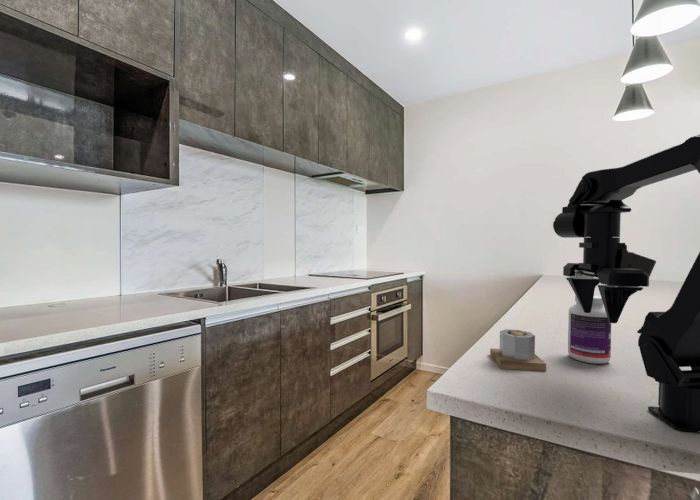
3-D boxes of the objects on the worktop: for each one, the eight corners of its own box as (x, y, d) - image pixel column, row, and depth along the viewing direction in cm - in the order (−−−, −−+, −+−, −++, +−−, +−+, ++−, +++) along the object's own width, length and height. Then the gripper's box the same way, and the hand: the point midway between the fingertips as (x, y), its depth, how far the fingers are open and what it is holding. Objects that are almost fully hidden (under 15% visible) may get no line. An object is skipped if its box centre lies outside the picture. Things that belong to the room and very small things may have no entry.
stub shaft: (546, 371, 73) (546, 339, 72) (500, 368, 74) (500, 337, 74) (530, 356, 81) (531, 329, 81) (490, 354, 83) (490, 327, 83)
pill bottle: (618, 366, 75) (619, 300, 75) (576, 364, 77) (578, 298, 77) (599, 354, 83) (601, 294, 83) (562, 352, 85) (563, 293, 84)
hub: (537, 361, 74) (538, 338, 74) (505, 359, 75) (505, 336, 75) (527, 351, 80) (527, 330, 80) (497, 350, 81) (497, 329, 81)
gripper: (686, 237, 58) (683, 331, 58) (618, 238, 76) (616, 309, 76) (611, 236, 59) (609, 328, 60) (562, 237, 78) (561, 308, 78)
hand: (599, 317), depth 68 cm, fingers open, 9 cm apart
